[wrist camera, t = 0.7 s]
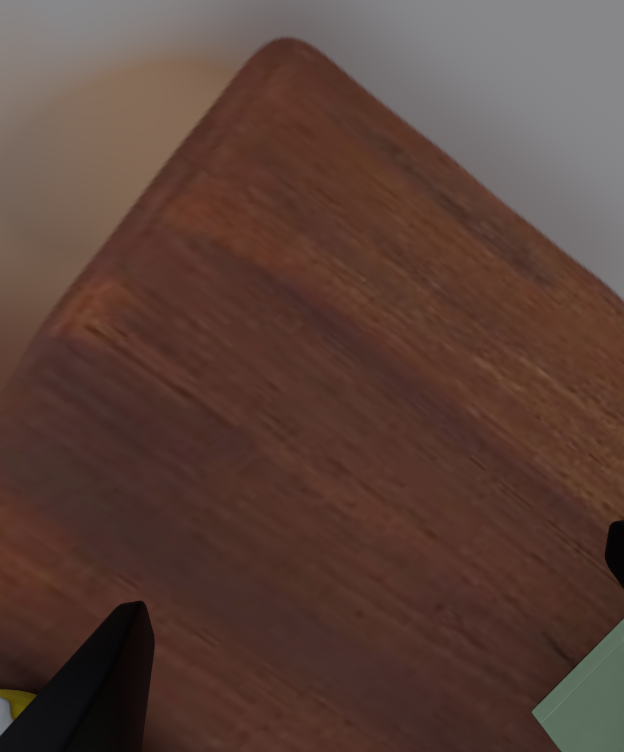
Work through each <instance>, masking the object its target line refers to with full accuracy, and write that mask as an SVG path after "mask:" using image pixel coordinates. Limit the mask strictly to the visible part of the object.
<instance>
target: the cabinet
mask: <svg viewBox="0 0 624 752" xmlns="http://www.w3.org/2000/svg"><path fill="white" fill-rule="evenodd" d="M532 714H533V715H534V716H535V718H536V719H537V720H538V722H539V723H540V724H541V725H542V727H543V728H544V730H545V731H546V732H547V734H548V735H549V736H550V738H551V739H552V740H553V741H554V743H555V744H556V745H557V747H558V748H559V749H560V751H561V752H624V619H623V620H622V621H621V622H620V623H619V624H618V625H617V626H616V627H615V628H614V629H613V630H612V631H611V632H610V633H609V634H608V635H607V636H606V637H605V638H604V639H603V640H602V641H601V642H600V643H599V644H598V645H597V646H596V647H595V648H594V649H593V650H592V651H591V652H590V653H589V654H588V655H587V656H586V657H585V658H584V659H583V660H582V661H581V662H580V663H579V664H578V665H577V666H576V667H575V668H574V669H573V670H572V671H571V672H570V673H569V674H568V675H567V676H566V677H565V678H564V679H563V680H562V681H561V682H560V683H559V684H558V685H557V686H556V687H555V688H554V689H553V690H552V691H551V692H550V693H549V694H548V695H547V696H546V697H545V698H544V699H543V700H542V701H541V702H540V703H539V704H538V706H537V707H536V708H535V709H534V710H533V711H532Z"/></svg>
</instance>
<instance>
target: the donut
mask: <svg viewBox="0 0 624 752" xmlns="http://www.w3.org/2000/svg"><path fill="white" fill-rule="evenodd" d="M35 697H36V694H33V693H30V692H24V691H19V690H8V689H0V735H1V734H2V733H3V732H4V731H5V730H6V729H7V728H8V726H9V725H10V724H11V723H12V722H13V721H14V720H15V719H16V718H17V716H18V715H19V714H20V713H21V712H22V711H23V710H24V709H25V708H26V707H27V705H28V704H29V703H30V702H31V701H32V700H33V699H34V698H35Z"/></svg>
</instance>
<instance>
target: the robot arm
mask: <svg viewBox="0 0 624 752" xmlns="http://www.w3.org/2000/svg"><path fill="white" fill-rule="evenodd" d="M605 560H606V563H607V565H608V567H609V569H610V570H611V572H612V573H613V575H614V576H615V577H616V579H617V580H618V581H619V583H620V584H621V586H622V587H623V588H624V520H620V521H615V522H613V523H612V524H611V525H610V527H609V531H608V537H607V543H606V549H605ZM154 647H155V640H154V633H153V629H152V625H151V622H150V618H149V614H148V611H147V607H146V605H145V603H144V602H143V601H135V602H129V603H123V604H120V605H119V606H117V607H116V608H115V609H114V610H113V612H112V613H111V614H110V615H109V616H108V617H107V618H106V619H105V620H104V621H103V623H102V624H101V625H100V626H99V627H98V628H97V629H96V630H95V631H94V632H93V634H92V635H91V636H90V637H89V638H88V639H87V640H86V641H85V642H84V644H83V645H82V646H81V647H80V648H79V649H78V650H77V651H76V652H75V653H74V655H73V656H72V657H71V658H70V659H69V660H68V661H67V662H66V663H65V665H64V666H63V667H62V668H61V669H60V670H59V671H58V672H57V673H56V674H55V676H54V677H53V678H52V679H51V680H50V681H49V682H48V683H47V684H46V686H45V687H44V688H43V689H42V690H41V691H40V692H39V693H38V694H37V695H36V697H35V698H34V699H33V700H32V701H31V702H30V703H29V704H28V705H27V707H26V708H25V709H24V710H23V711H22V712H21V713H20V714H19V715H18V716H17V718H16V719H15V720H14V721H13V722H12V723H11V724H10V725H9V726H8V728H7V729H6V730H5V731H4V732H3V733H2V734H1V735H0V752H141V746H142V740H143V733H144V725H145V717H146V710H147V702H148V694H149V687H150V679H151V671H152V664H153V656H154Z"/></svg>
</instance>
